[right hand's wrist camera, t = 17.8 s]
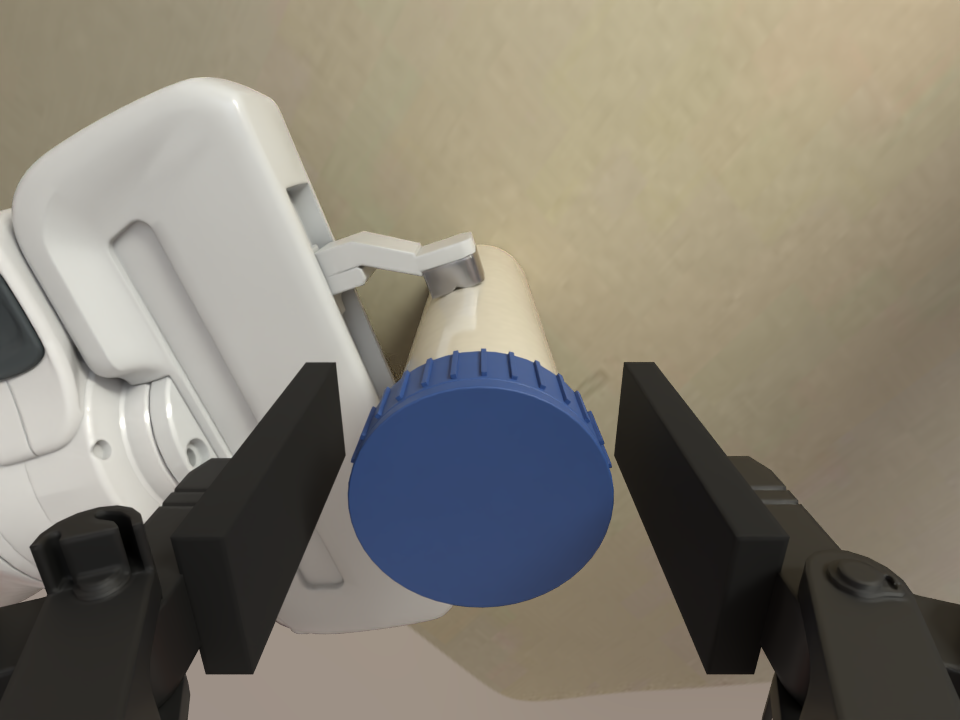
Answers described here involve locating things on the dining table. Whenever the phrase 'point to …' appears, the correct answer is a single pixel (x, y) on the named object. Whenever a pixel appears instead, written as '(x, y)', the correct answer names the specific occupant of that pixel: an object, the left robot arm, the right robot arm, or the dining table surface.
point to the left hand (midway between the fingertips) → (504, 333)
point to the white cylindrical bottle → (484, 317)
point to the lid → (480, 481)
